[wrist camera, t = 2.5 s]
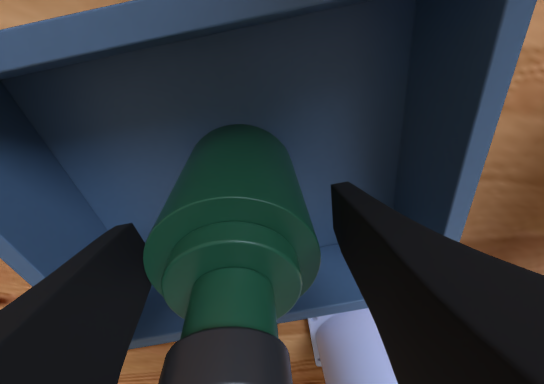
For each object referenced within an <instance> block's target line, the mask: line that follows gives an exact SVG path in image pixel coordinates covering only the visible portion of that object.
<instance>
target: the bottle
mask: <svg viewBox="0 0 544 384" xmlns="http://www.w3.org/2000/svg"><path fill="white" fill-rule="evenodd" d="M143 263H144V269H145V272H146V275H147V277H148V279H149V281H150V282H151V284H152V285H153V287H154V288H155V289H156V290H157V291H158V292H159V293H160V294H161V295H162V296H163V298H164V300H165V302H166V303H167V305H168V306H169V307H170V309H171V310H172V311H174V312H175V313H176V314H177V315H178V316H180V317H181V318H183V319H185V320H184V325H183V329H182V333H181V338H180V340H179V341H177V342H176V343H175V344H174V345H173V346H172V347H171V348H170V350H169V351H168V353H167V355H166V357H165V361H164V364H163V368H162V372H161V376H160V379H159V383H158V384H293V382H292V374H291V365H290V357H289V352H288V350H287V348H286V346H285V345H284V343H283V342H282V341H281V340H280V339H278V328H277V319H279V318H280V317H282V316H283V315H285V314H286V313H287V312H289V311H290V310H291V309H292V308H293V306H294V305H295V304H296V302H297V301H298V299H299V298H300V297H301V296H302V295H303V294H304V293H305V292H306V291H307V290H308V289H309V288H310V286H311V285H312V284H313V282H314V280H315V279H316V277H317V274H318V271H319V268H320V263H321V252H320V247H319V243H318V240H317V237H316V234H315V231H314V228H313V225H312V222H311V219H310V216H309V212H308V209H307V206H306V203H305V200H304V197H303V194H302V191H301V188H300V185H299V182H298V179H297V176H296V173H295V170H294V167H293V164H292V161H291V158H290V156H289V153H288V151H287V150H286V148H285V147H284V145H283V144H282V143H281V142H280V141H279V140H278V139H277V138H276V137H275V136H274V135H272V134H271V133H269V132H267V131H266V130H264V129H261V128H259V127H255V126H252V125H245V124H233V125H226V126H223V127H219V128H217V129H215V130H213V131H211V132H209V133H208V134H206V135H205V136H204V137H203V138H201V140H200V141H199V142H198V143H197V144H196V146H195V147H194V149H193V150H192V152H191V154H190V156H189V158H188V160H187V162H186V164H185V166H184V168H183V170H182V172H181V174H180V176H179V178H178V180H177V181H176V183H175V185H174V187H173V189H172V191H171V193H170V195H169V197H168V199H167V201H166V203H165V205H164V207H163V209H162V211H161V212H160V214H159V216H158V218H157V220H156V222H155V224H154V226H153V228H152V230H151V232H150V234H149V236H148V238H147V240H146V243H145V246H144V251H143Z"/></svg>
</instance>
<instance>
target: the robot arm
mask: <svg viewBox="0 0 544 384" xmlns="http://www.w3.org/2000/svg"><path fill="white" fill-rule="evenodd" d="M331 200H332V217H333V230H334V233H335V236H336V239H337V242H338V244H339V247H340V250H341V253H342V255H343V257H344V259H345V261H346V263H347V265H348V267H349V270H350V272H351V274H352V276H353V278H354V280H355V282H356V284H357V286H358V288H359V290H360V292H361V294H362V296H363V298H364V300H365V302H366V304H367V306H368V308H366V309H360V310H354V311H348V312H343V313H337V314H331V315H325V316H320V317H314V318H308V324H309V330H310V335H311V341H312V346H313V352H314V358H315V363H316V365H317V366H322V369H323V374H324V378H325V383H326V384H544V275H541V274H538V273H535V272H533V271H530V270H527V269H525V268H522V267H519V266H517V265H514V264H511V263H509V262H506V261H503V260H501V259H498V258H495V257H493V256H490V255H488V254H485V253H483V252H480V251H478V250H475V249H473V248H471V247H468V246H466V245H464V244H462V243H459V242H457V241H455V240H452V239H450V238H448V237H446V236H443V235H441V234H439V233H437V232H435V231H433V230H431V229H429V228H427V227H425V226H423V225H421V224H419V223H417V222H416V221H414V220H412V219H410V218H408V217H406V216H404V215H403V214H401V213H399V212H397V211H395V210H394V209H392V208H390V207H389V206H387V205H385V204H384V203H382V202H380V201H379V200H377V199H375V198H374V197H372V196H371V195H369V194H367V193H366V192H364V191H363V190H361V189H360V188H358V187H357V186H355V185H353V184H352V183H350V182H348V181H347V182H342V183H336V184H331ZM144 246H145V242H144V241H143V239H142V237H141V236H140V234H139V233H138V231H137V230H136V228H135V226H134V225H133V223H127V224H122V225H117V226H115V227H113V228H111V229H110V230H108V231H107V232H105V233H104V234H102V235H101V236H100V237H98V238H97V239H95V240H94V241H93V242H91V243H90V244H89V245H87V246H86V247H85V248H84V249H82V250H81V251H80V252H78V253H77V254H76V255H74V256H73V257H72V258H71V259H69V260H68V261H67V262H65V263H64V264H63V265H61V266H60V267H59V268H57V269H56V270H55V271H54V272H52V273H51V274H50V275H48V276H47V277H45V278H44V279H43V280H41V281H40V282H39V283H37V284H36V285H35V286H33V287H32V288H30V289H29V290H28V291H26V292H25V293H24V294H22V295H21V296H20V297H18V298H17V299H16V300H14V301H13V302H11V303H10V304H9V305H7V306H6V307H4V308H3V309H1V310H0V384H117V383H118V380H119V376H120V372H121V369H122V366H123V363H124V360H125V357H126V354H127V351H128V348H129V346H130V343H131V340H132V338H133V335H134V332H135V330H136V327H137V324H138V322H139V319H140V316H141V314H142V311H143V308H144V306H145V303H146V300H147V297H148V295H149V292H150V289H151V285H152V284H151V282H150V281H149V279H148V277H147V275H146V272H145V269H144V263H143V251H144Z"/></svg>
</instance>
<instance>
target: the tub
mask: <svg viewBox="0 0 544 384" xmlns="http://www.w3.org/2000/svg"><path fill="white" fill-rule="evenodd" d="M536 1H537V0H133V1H128V2H124V3H119V4H115V5H110V6H106V7H101V8H96V9H92V10H87V11H83V12H78V13H74V14H69V15H65V16H60V17H56V18H51V19H47V20H42V21H38V22H33V23H29V24H24V25H20V26H15V27H11V28H6V29H2V30H0V258H1V259H2V260H3V261H4V262H5V263H6V264H8V265H9V266H10V267H11V268H12V269H13V270H14V271H15V272H17V273H18V274H19V275H20V276H21V277H22V278H23V279H24V280H26V281H27V282H28V283H29V284H30V285H31V286H32V287H33V286H35V285H36V284H37V283H39V282H40V281H41V280H43V279H44V278H45V277H47V276H48V275H50V274H51V273H52V272H54V271H55V270H56V269H57V268H59V267H60V266H61V265H63V264H64V263H65V262H67V261H68V260H69V259H71V258H72V257H73V256H74V255H76V254H77V253H78V252H80V251H81V250H82V249H84V248H85V247H86V246H87V245H89V244H90V243H91V242H93V241H94V240H95V239H97V238H98V237H100V236H101V235H102V234H104V233H105V232H107V231H108V230H110V229H111V228H113V227H115V226H117V225H122V224H127V223H133V225H134V226H135V228H136V230H137V231H138V233H139V234H140V236H141V237H142V239H143V241H144V242H145V243H146V240H147V238H148V236H149V234H150V232H151V230H152V228H153V226H154V224H155V222H156V220H157V218H158V216H159V214H160V212H161V211H162V209H163V207H164V205H165V203H166V201H167V199H168V197H169V195H170V193H171V191H172V189H173V187H174V185H175V183H176V181H177V180H178V178H179V176H180V174H181V172H182V170H183V168H184V166H185V164H186V162H187V160H188V158H189V156H190V154H191V152H192V150H193V149H194V147H195V146H196V144H197V143H198V142H199V141H200V140H201V138H203V137H204V136H205V135H206V134H208V133H209V132H211V131H213V130H215V129H217V128H219V127H223V126H226V125H233V124H245V125H252V126H255V127H259V128H261V129H264V130H266V131H267V132H269V133H271V134H272V135H274V136H275V137H276V138H277V139H278V140H279V141H280V142H281V143H282V144H283V145H284V147H285V148H286V150H287V151H288V153H289V156H290V158H291V161H292V164H293V167H294V170H295V173H296V176H297V179H298V182H299V185H300V188H301V191H302V194H303V197H304V200H305V203H306V206H307V209H308V212H309V216H310V219H311V222H312V225H313V228H314V231H315V234H316V237H317V240H318V243H319V247H320V252H321V263H320V268H319V271H318V274H317V277H316V279H315V280H314V282H313V284H312V285H311V286H310V288H309V289H308V290H307V291H306V292H305V293H304V294H303V295H302V296H301V297H300V298H299V299H298V301H297V302H296V304H295V305H294V306H293V308H292V309H291V310H290V311H289V312H287V313H286V314H285V315H283V316H282V317H280V318H279V319H277V324H279V323H285V322H291V321H296V320H302V319H308V318H314V317H320V316H325V315H331V314H337V313H343V312H348V311H354V310H360V309H366V308H368V306H367V304H366V302H365V300H364V298H363V296H362V294H361V292H360V290H359V288H358V286H357V284H356V282H355V280H354V278H353V276H352V274H351V272H350V270H349V267H348V265H347V263H346V261H345V259H344V257H343V255H342V253H341V250H340V247H339V244H338V242H337V239H336V236H335V233H334V230H333V217H332V200H331V184H336V183H342V182H347V181H348V182H350V183H352V184H353V185H355V186H357V187H358V188H360V189H361V190H363V191H364V192H366V193H367V194H369V195H371V196H372V197H374V198H375V199H377V200H379V201H380V202H382V203H384V204H385V205H387V206H389V207H390V208H392V209H394V210H395V211H397V212H399V213H401V214H403V215H404V216H406V217H408V218H410V219H412V220H414V221H416V222H417V223H419V224H421V225H423V226H425V227H427V228H429V229H431V230H433V231H435V232H437V233H439V234H441V235H443V236H446V237H448V238H450V239H452V240H455V241H457V242H459V241H460V238H461V235H462V232H463V229H464V226H465V223H466V220H467V216H468V213H469V210H470V207H471V204H472V201H473V198H474V195H475V191H476V188H477V185H478V182H479V179H480V176H481V173H482V170H483V167H484V163H485V160H486V157H487V154H488V151H489V148H490V145H491V142H492V138H493V135H494V132H495V129H496V126H497V123H498V120H499V117H500V114H501V110H502V107H503V104H504V101H505V98H506V95H507V92H508V89H509V85H510V82H511V79H512V76H513V73H514V70H515V67H516V64H517V61H518V57H519V54H520V51H521V48H522V45H523V42H524V39H525V36H526V32H527V29H528V26H529V23H530V20H531V17H532V14H533V11H534V8H535V4H536ZM184 320H185V319H183V318H181V317H180V316H178V315H177V314H176V313H175V312H174V311H172V310H171V309H170V307H169V306H168V305H167V303H166V302H165V300H164V298H163V296H162V295H161V294H160V293H159V292H158V291H157V290H156V289H155V288H154V287H153V285H151V289H150V292H149V295H148V297H147V300H146V303H145V306H144V308H143V311H142V314H141V316H140V319H139V322H138V324H137V327H136V330H135V332H134V335H133V338H132V340H131V343H130V346H129V348H128V350H129V349H134V348H140V347H146V346H152V345H158V344H163V343H169V342H175V341H179V340H180V338H181V333H182V329H183V325H184Z"/></svg>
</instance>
